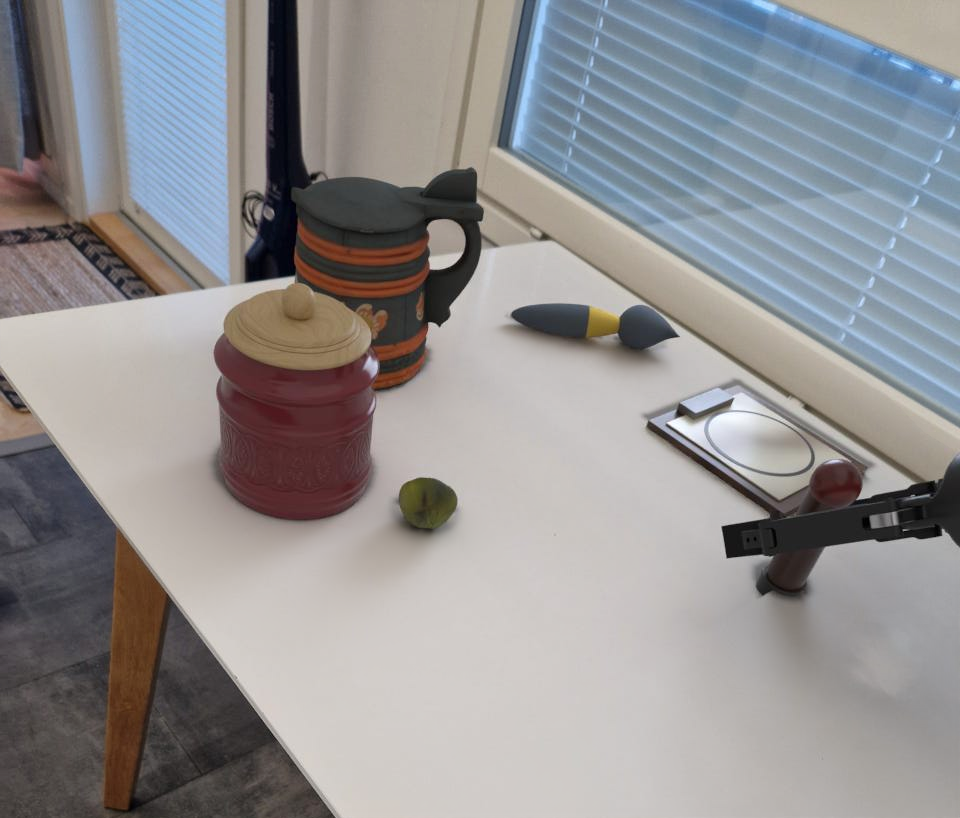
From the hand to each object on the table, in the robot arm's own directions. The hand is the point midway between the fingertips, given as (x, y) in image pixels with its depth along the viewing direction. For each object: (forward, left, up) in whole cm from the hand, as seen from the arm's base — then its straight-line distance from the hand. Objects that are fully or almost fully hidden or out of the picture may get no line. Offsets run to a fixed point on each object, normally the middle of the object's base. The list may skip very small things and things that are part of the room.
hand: (789, 529), depth 77 cm
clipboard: (+13, -17, -5) cm, 22 cm away
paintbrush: (+38, -17, -6) cm, 42 cm away
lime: (+21, +22, -6) cm, 31 cm away
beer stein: (+46, +9, -6) cm, 47 cm away
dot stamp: (-2, 0, -5) cm, 6 cm away
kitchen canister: (+32, +28, -6) cm, 43 cm away
